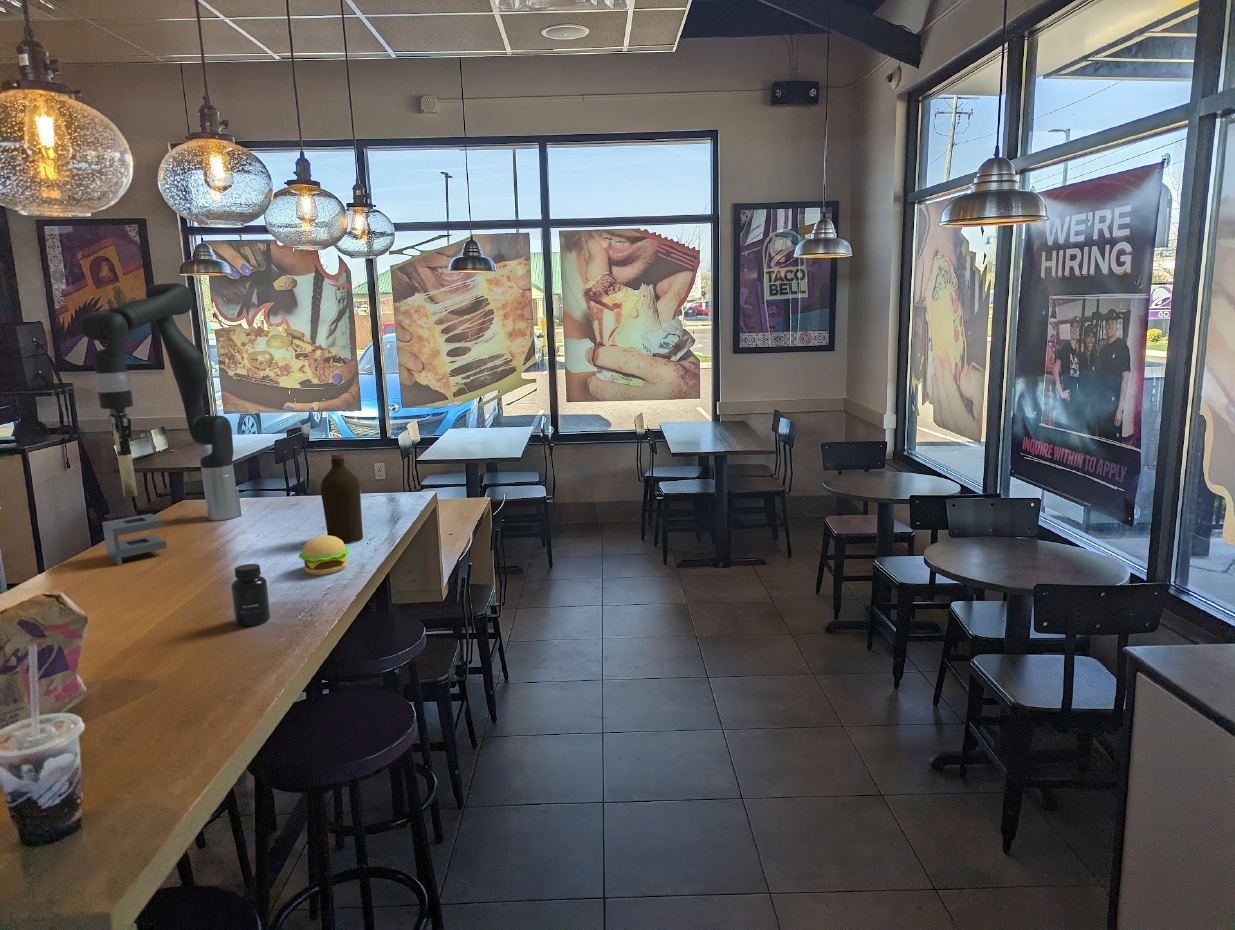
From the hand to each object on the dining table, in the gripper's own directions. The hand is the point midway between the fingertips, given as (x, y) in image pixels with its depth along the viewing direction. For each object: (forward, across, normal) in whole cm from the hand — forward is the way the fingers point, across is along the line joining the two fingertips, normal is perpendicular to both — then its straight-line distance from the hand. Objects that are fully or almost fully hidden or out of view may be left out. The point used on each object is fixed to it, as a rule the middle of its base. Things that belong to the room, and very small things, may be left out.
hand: (124, 453), depth 215 cm
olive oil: (+29, -31, -45) cm, 62 cm away
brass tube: (+12, 0, 0) cm, 12 cm away
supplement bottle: (+29, -75, -3) cm, 81 cm away
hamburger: (+29, -53, -29) cm, 67 cm away
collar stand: (+29, 0, 0) cm, 29 cm away
